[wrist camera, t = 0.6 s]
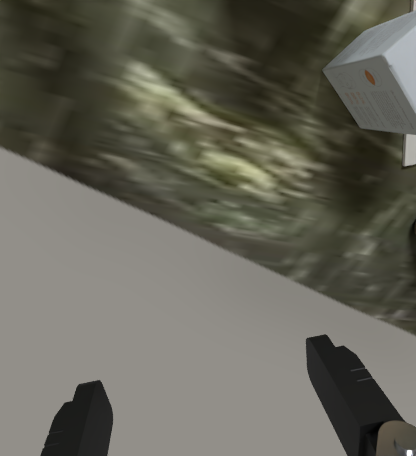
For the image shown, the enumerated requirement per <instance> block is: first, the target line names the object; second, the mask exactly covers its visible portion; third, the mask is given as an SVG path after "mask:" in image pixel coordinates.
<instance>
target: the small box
mask: <svg viewBox="0 0 416 456" xmlns="http://www.w3.org/2000/svg"><path fill="white" fill-rule="evenodd" d="M322 71H323V73H324V74H325V76H326V77H327V78H328V80H329V82H330V83H331V85H332V86H333V88H334V89H335V91H336V92H337V94H338V95H339V97H340V98H341V100H342V101H343V103H344V104H345V106H346V107H347V109H348V110H349V112H350V113H351V115H352V116H353V118H354V119H355V121H356V122H357V124H358V126H359V127H360V128H362V129H370V130H378V131H386V132H394V133H403V134H411V135H416V10H415V11H413V12H410V13H408V14H405V15H402V16H400V17H397V18H395V19H392V20H390V21H387V22H385V23H382V24H380V25H377V26H375V27H372V28H370V29H368V30H365V31H364V32H363V33H362V34H360V35H359V36H358V37H357V38H356V39H355V40H354V41H353V42H351V43H350V44H349V45H348V46H347V47H346V48H345V49H344V50H343V51H342V52H341V53H340V54H338V55H337V56H336V57H335V58H334V59H333V60H332V61H331V62H330V63H329V64H328V65H327V66H325V67H324V68H323V70H322Z"/></svg>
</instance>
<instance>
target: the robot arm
mask: <svg viewBox="0 0 416 456" xmlns="http://www.w3.org/2000/svg"><path fill="white" fill-rule="evenodd" d="M306 354H307V370H308V374H309V378H310V380H311V383H312V385H313V387H314V389H315V391H316V393H317V395H318V397H319V399H320V401H321V403H322V405H323V407H324V409H325V411H326V413H327V415H328V417H329V419H330V421H331V423H332V425H333V427H334V429H335V431H336V433H337V435H338V437H339V440H340V442H341V443H342V445H343V448H344V450H345V451H346V454H347V456H416V427H415V426H413V425H411V424H408V423H406V422H405V421H404V420H403V418H402V417H401V416H400V414H399V413H398V412H397V410H396V409H395V408H394V406H393V405H392V403H391V402H390V401H389V399H388V398H387V397H386V395H385V394H384V392H383V391H382V390H381V388H380V387H379V386H378V384H377V383H376V381H375V380H374V379H373V378H372V376H371V374H370V373H369V372H368V370H367V369H365V366H364V365H363V363H362V362H361V361H360V359H359V358H358V357H357V355H356V354H354V353H353V352H352V351H350V350H349V349H348V348H346V347H345V346H339V347H335V346H334V345H333V343H332V342H331V340H330V339H329V337H328V336H327V335H320V336H315V337H310V338H307V339H306ZM112 425H113V412H112V407H111V404H110V402H109V399H108V397H107V395H106V392H105V390H104V387H103V385H102V382H101V381H100V380H97V381H92V382H87V383H83V384H79V385H78V386H77V388H76V391H75V395H74V398H73V401H70V402H66V403H64V405H63V406H62V407H61V409H60V410H59V411H58V413H57V414H56V416H55V417H54V420H53V422H52V425H51V428H50V431H49V435H48V436H47V439H46V442H45V444H44V445H45V447H44V448H43V450H42V453H41V456H107V454H108V448H109V443H110V436H111V431H112Z"/></svg>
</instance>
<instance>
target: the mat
mask: <svg viewBox="0 0 416 456" xmlns="http://www.w3.org/2000/svg"><path fill="white" fill-rule="evenodd" d="M415 10H416V0H411V12H413V11H415ZM414 164H416V135H411V134H404V144H403V162H402V166H409V165H414Z"/></svg>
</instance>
